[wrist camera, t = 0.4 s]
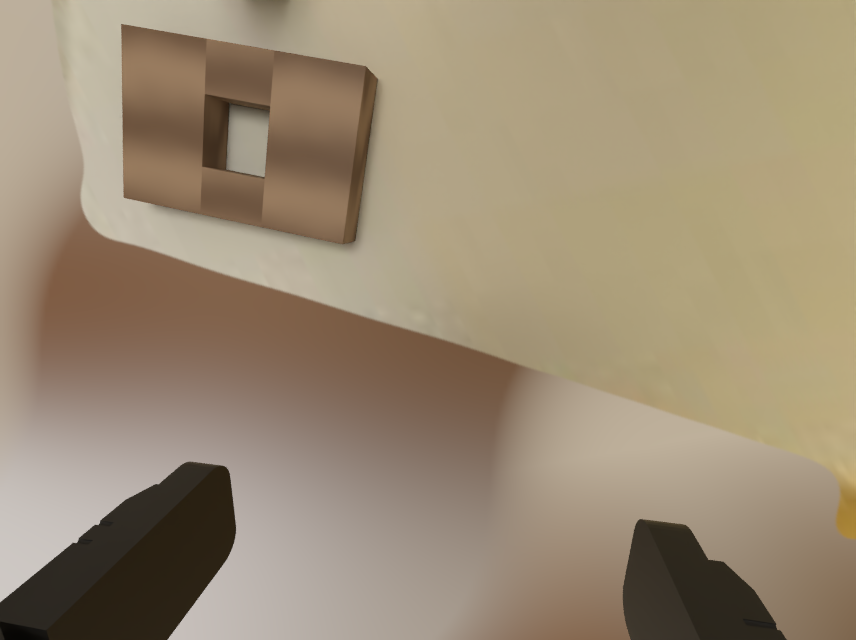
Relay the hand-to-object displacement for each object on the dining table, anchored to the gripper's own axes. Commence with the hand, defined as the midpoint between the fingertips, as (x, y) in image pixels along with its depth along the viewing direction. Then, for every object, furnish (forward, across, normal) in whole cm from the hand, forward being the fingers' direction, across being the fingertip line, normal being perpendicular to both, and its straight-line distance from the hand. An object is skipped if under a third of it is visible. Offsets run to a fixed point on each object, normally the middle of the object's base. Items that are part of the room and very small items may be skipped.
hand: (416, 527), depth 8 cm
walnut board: (+28, +18, -10) cm, 34 cm away
